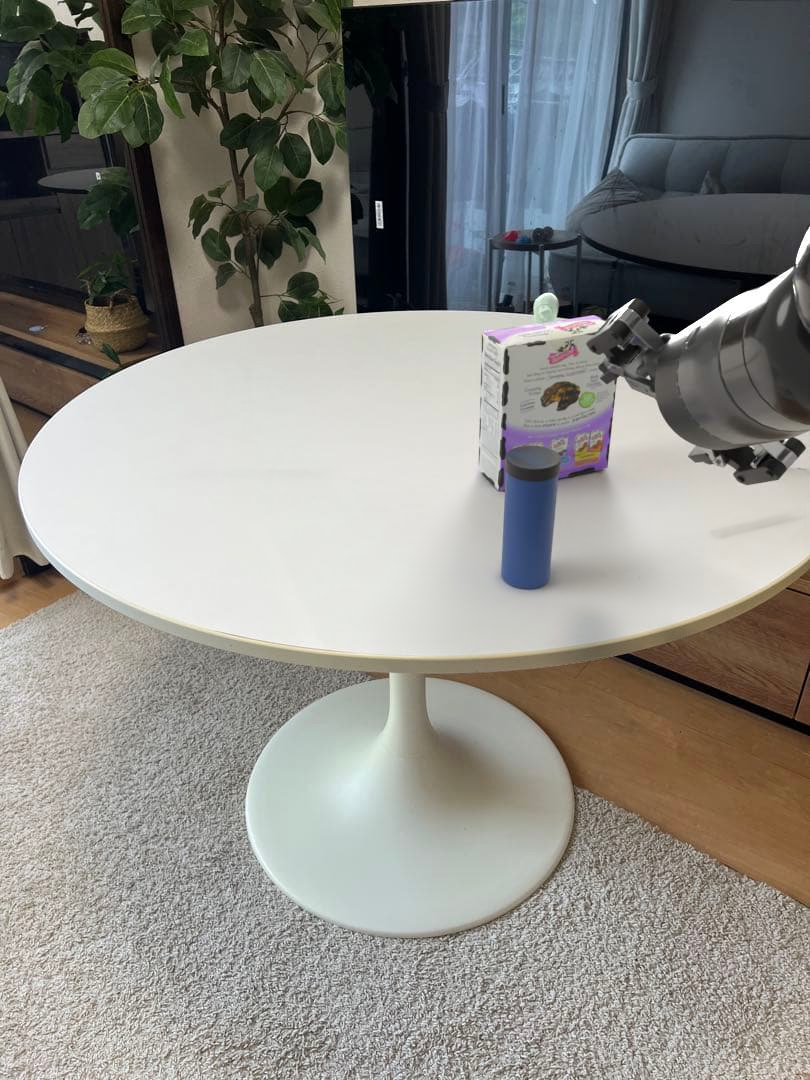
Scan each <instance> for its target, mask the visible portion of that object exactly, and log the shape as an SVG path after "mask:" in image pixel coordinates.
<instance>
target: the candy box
mask: <svg viewBox="0 0 810 1080" xmlns="http://www.w3.org/2000/svg"><path fill="white" fill-rule="evenodd" d="M605 322H606V319H603V318H601V317H600V316H597V315H595V314H594V315H587V316H582V317H581V316H580V317H575V318H568V319H561V320H555V321H554V322H547V323H540V324H535V323H534V324H527V325H526V324H525V325H519V326H513V327H506V328H500V329H492V330H485V331H482V332H481V355H480V356H481V360H480V362H481V363H480V398H479V399H480V400H479V433H478V434H479V435H478V436H479V439H478V466H477V467H478V471H479V472H480V473H481V474H482V475H483V477H485V479H486V480H487V481H488V482H489V483H490V484H491V485H492V487H494V488H495V490H497V491H501V492H502V491H505V481H506V471H505V456H506V454H507V452H508V451H510V450H511V449H514V448H516V447H521V446H542V447H546V448H549V449H552V450H554V451H556V452H557V453H558V454H559V455H560V457H561V465H560V473H559V474H558V480H559V479H563V478H567V477H572V476H579V475H581V474H587V473H591V472H596V471H600V470H605V469H607V468H608V467H609V458H610V447H611V446H610V445H611V439H612V429H613V420H614V410H615V400H616V391H617V384H618V383H617V382H618V378H616V379H615V380H613V381H612V382H610V383H608V384H606V383H604V382H603V381H602V380H601V379H600V377H601V375H602V374H603V372H601V371H600V370H599V368H598V366H599V364H600V363H601V362H602V361H603V360H604V359H605V358H606V356H605V354H604V353H602V354H600V355H597V354H595V353H593V352H591V351H590V350H589V348H588V346H587V345H586V343H587V341H588V340H589V339H590V338H591V337H592V336H594V335H595V333H596V332H597V331H598V330H599V329H600V328H601V327H602V325H603V324H604V323H605Z"/></svg>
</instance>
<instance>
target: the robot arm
mask: <svg viewBox="0 0 810 1080" xmlns="http://www.w3.org/2000/svg"><path fill="white" fill-rule="evenodd" d="M794 263H795V264H794V265H793V266H792V267H790V268H789V269H787V270H785V271H784V272H782V273H781V274H779V275H778V276H776V277H774V278H773V279H771V280H770V281H768V282H767V283H765V284H764V285H762V286H759V287H756V288H753V289H750V290H747V291H744V292H743V293H741V294H738V295H737V296H735V297H733V298H731V299H729V300H728V301H726V302H725V303H723V304H721V305H720V306H719V307H716V308H715V309H714V310H712V311H711V312H709V313H707V314H706V315H705V316H703V317H702V318H700V319H698V320H697V321H695V322H694V323H692V324H690V325H688V326H687V327H686V328H684V329H683V330H681V331H680V332H679V333H677V334H675V333H674V334H673V333H666V332H665V333H662V334H659V333H658V332H657V331H656V330H655V329H653V327H652V326H650V325H649V323H648V322H649V321H650V319H649V317H648V315H649V313H651V309H650V307H649V306H648V304H647V303H646V302H645V301H643V300H642V299H640V298H637V297H635V298H634V299H632V300H630V301H629V302H627V303H626V304H624V305H623V306H621V307H620V308H619V309H617V310H615V311H614V312H613V313H611V314H610V315H609V316H608V318H607V319H605V321H606V322H605V323H604V324H603V325H602V327H601V328H600V329H599V330H598V331H597V332H596V333H595V335H594V336H592V337H591V338H590V339H589V340H588V341H587V343H586V345H587V346H588V348H589V350H590V351H591V352H593V353H595V354H597V355H600V354H602V353H604V354H605V356H606V358H605V359H604V360H603V361H602V362H601V363H600V364H599V366H598V368H599V370H600V371H601V372H603V374H602V375H601V377H600V379H601V380H602V381H603V382H604V383H606V384H608V383H610V382H612V381H613V380H615V379H616V378H617V379H618V378H619V377H621V378H623V379H624V381H626V383H627V385H629V388H630V389H632V390H633V391H636V392H639V393H641V394H643V395H645V396H648V397H650V398H652V399H654V400H655V401H656V403H657V406H658V410H659V412H660V414H661V416H662V418H663V420H664V421H665V422H666V424H667V425H668V427H669V428H670V429H671V430H672V432H674V433H675V434H676V435H677V436H678V437H680V438H682V440H684V441H686V442H687V443H689V444H691V445H693V446H694V448H693V449H692V450H691V451H690V452H689V453H688V456H687V457H688V458H689V459H690V460H691V461H693V462H694V463H695V464H697V463H704V464H705V465H710V466H711V465H715V466H717V467H719V468H722V469H724V468H725V467H726V466H727V465H728V466H729V467H731V468H733V469H734V470H735V471H734V472H733V473H732V475H733V477H734V478H735V480H736V481H737V482H738V483H740V484H743V485H745V486H752V485H757V484H763V483H768V482H775V481H779V480H780V479H781V478H782V476H783V475H784V474H785V473H786V472H788V470H789V469H790V468H791V466H792V465H794V463H795V462H796V461H797V460H798V459H799V458H800V457H801V455H802V454H803V453H804V452H805V451H806V449H807V447H806V445H805V444H804V443H803V442H802V440H800V439H798V438H796V437H798V436H801V435H803V434H806V433H808V432H810V226H809V227H808V230H807V231H806V232H805V234H804V237H803V238H802V241H801V243H800V246H799V249H798V252H797V255H796V258H795V262H794ZM648 377H649V378H648ZM751 446H752V447H751Z"/></svg>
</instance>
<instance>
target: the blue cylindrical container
mask: <svg viewBox="0 0 810 1080" xmlns="http://www.w3.org/2000/svg"><path fill="white" fill-rule="evenodd" d="M560 465H561V457H560V455H559V454H558V453H557V452H556V451H554V450H552V449H549V448H546V447H542V446H521V447H516V448H514V449H511V450H510V451H508V452H507V454H506V456H505V471H506V481H505V490H504V503H503V504H504V505H503V524H502V544H501V567H500V570H501V571H500V577H501V579H502V580H503V581H504V582H505V583H506V584H508V585H509V586H511V587H513V588H517V589H522V590H534V589H538V588H541V587H543V586H545V585H546V584H547V583H548V582H549V581H550V578H551V567H552V566H551V565H552V564H551V563H552V554H553V541H554V530H555V520H556V519H555V518H556V507H557V496H558V486H559V485H558V483H559V479H558V474H559V473H560Z"/></svg>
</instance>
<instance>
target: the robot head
mask: <svg viewBox="0 0 810 1080" xmlns="http://www.w3.org/2000/svg"><path fill="white" fill-rule="evenodd" d="M559 308H560V304H559V300H558V298H557V297H556V294H554V293H552V292H545V293H542V294H541V295H539V296H538V297H537V298H536V299H535V301H534V303H533V320H534V324H540V323H547V322H554V321H556V319H557V317H558V313H559Z"/></svg>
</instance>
